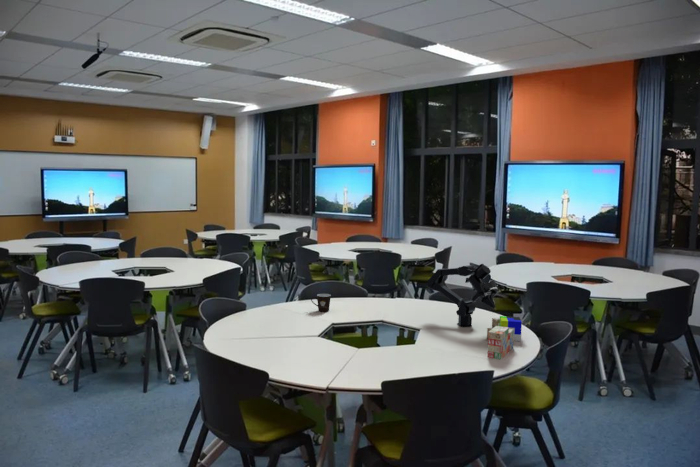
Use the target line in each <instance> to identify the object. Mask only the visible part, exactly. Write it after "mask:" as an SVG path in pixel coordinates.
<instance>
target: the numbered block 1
mask: <svg viewBox="0 0 700 467" xmlns="http://www.w3.org/2000/svg"><path fill="white" fill-rule="evenodd" d="M499 325H500V317H492V318H491V328H494V327H495V326H499Z"/></svg>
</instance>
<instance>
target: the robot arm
mask: <svg viewBox="0 0 700 467" xmlns="http://www.w3.org/2000/svg"><path fill="white" fill-rule="evenodd" d="M490 274H491V269H490V267H488V266H487V265H484V263H481V264H480V263H479V266H478V267H474V266H473V265H472V264H469V265H463V266H459V267H453V268H437V270H436V271H435V272H434V273H433V274H432V276H430V278H429V279H427V282H426V284H427V285H426V286H427V288H429V289H431V290H432V291H437V292H439V293H441V295H443V296H444V297H445V298H447V299H449V301H451V302H453V303H454V304H455V305H456V306H457V308H458V309H457V310H456V314H457V316H458V318H457V319H458V322H457V323H456V324H457V325H458V326H459V327H462V328H463V327H464V328H465V327H466V328H467V327H473V325H472V322H473V317H472V315H473V313H474V312H475V311H476V304H475V303H476V302H477V301H478V299H480V300H479V302H480V303H483V304H485V305H487V306H489V307H490V308H492V309H495V308H496V304H495V302H494V297H495V296H496V295H497V294H498V293H499V292H500V291H499V289H498V288H497V282H496V281H495V279H491V280H490V281H489V282H487V283H486V282H483V281H482V280H484V279H485V278H486V277H487V276H489V275H490ZM454 275H455V276H461V277H466V278H465V283H466V284H467V283H470V285H471V286H472V288H473V289H472V290H473V292H476V293H475V294H473V295H472V296H471V299H470V298H469V297H465V298H462V297H461V296H460V295H458V294H457V293H455V292H454V291H453V290H451V289H450V288H449V287H447V286H446V285H445V284H444V282H443V281H444V279H445V276H454Z"/></svg>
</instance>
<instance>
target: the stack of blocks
mask: <svg viewBox="0 0 700 467" xmlns="http://www.w3.org/2000/svg"><path fill="white" fill-rule="evenodd" d="M513 348H514V340H513V329H509V328H508V327H501V326H495V327H494V328H493V329H492V330H490V331H489V332H488V340H487V356H486V357H487V358H490V359H494V360H495V359H496V360H502V359H503V358H505V356H506V355H507V354H508V353H509V352H510V351H511V350H512V349H513Z"/></svg>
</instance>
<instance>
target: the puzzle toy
mask: <svg viewBox="0 0 700 467" xmlns="http://www.w3.org/2000/svg"><path fill="white" fill-rule="evenodd" d="M499 318H500V325H499V326H501V327H508V328H509V329H513V342H515V341H517V342H521V341H522V324H523V323H522V322H523V321H522V319H521V318H520V316H508V315H507V316H505V315H499Z"/></svg>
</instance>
